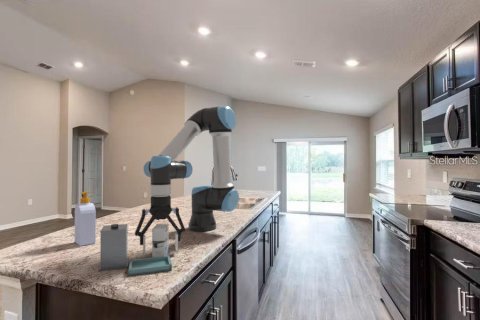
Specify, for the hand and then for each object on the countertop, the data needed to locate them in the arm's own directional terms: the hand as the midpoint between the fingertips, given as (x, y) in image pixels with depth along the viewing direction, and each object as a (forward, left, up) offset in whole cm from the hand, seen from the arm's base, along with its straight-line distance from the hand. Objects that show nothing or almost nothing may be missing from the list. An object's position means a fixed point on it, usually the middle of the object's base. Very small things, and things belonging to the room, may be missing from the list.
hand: (160, 251), depth 107 cm
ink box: (0, 0, -2) cm, 2 cm away
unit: (+16, +4, -2) cm, 17 cm away
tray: (+4, +11, -2) cm, 12 cm away
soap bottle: (+31, -29, -2) cm, 42 cm away
